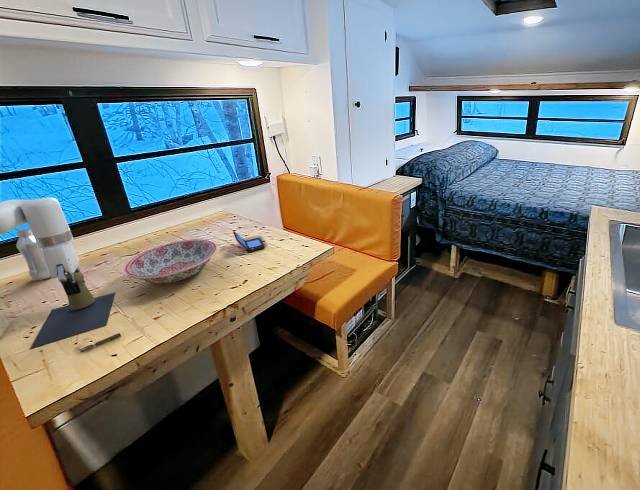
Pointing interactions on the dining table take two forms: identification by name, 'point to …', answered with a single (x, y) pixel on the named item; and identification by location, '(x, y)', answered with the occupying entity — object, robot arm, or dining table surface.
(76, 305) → the cork
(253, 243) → the handheld console
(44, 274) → the plastic bottle
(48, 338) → the mat
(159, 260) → the ceramic bowl
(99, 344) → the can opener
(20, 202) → the robot arm
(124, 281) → the dining table surface
